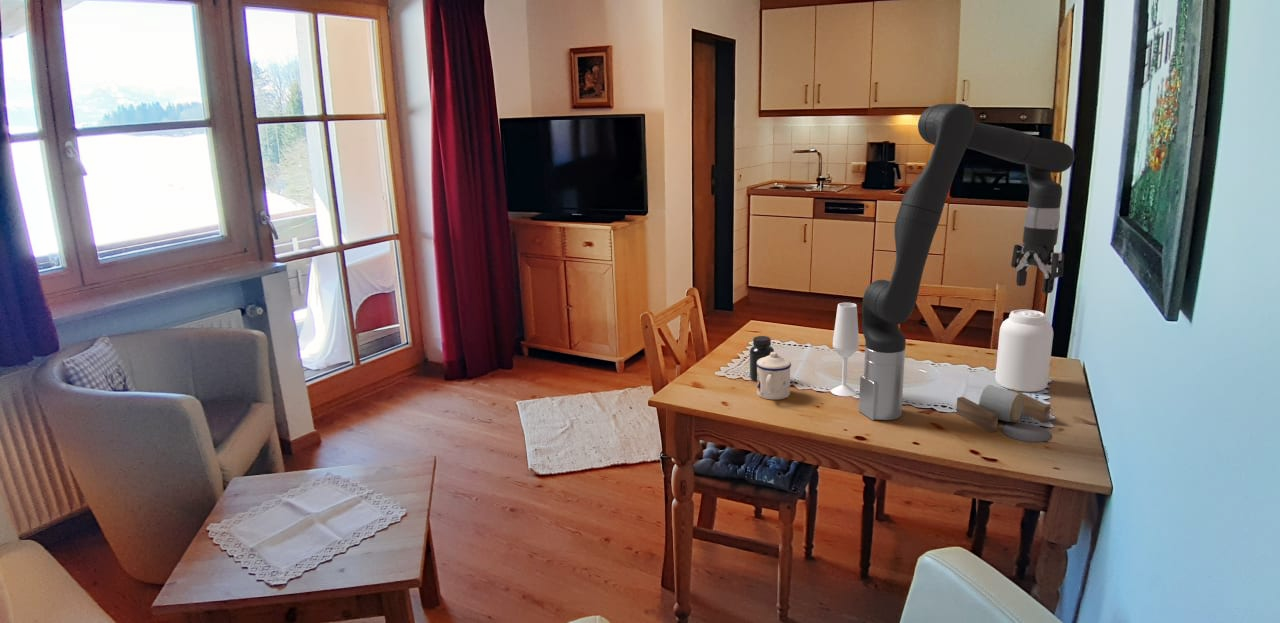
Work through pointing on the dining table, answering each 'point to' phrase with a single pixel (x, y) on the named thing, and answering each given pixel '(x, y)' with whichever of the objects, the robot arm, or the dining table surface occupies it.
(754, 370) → the supplement bottle
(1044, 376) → the white lidded jar
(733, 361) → the dining table surface
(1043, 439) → the dark mat
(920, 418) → the dining table surface
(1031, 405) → the holder
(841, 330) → the champagne flute
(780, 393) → the teacup with lid
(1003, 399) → the grey cylinder
